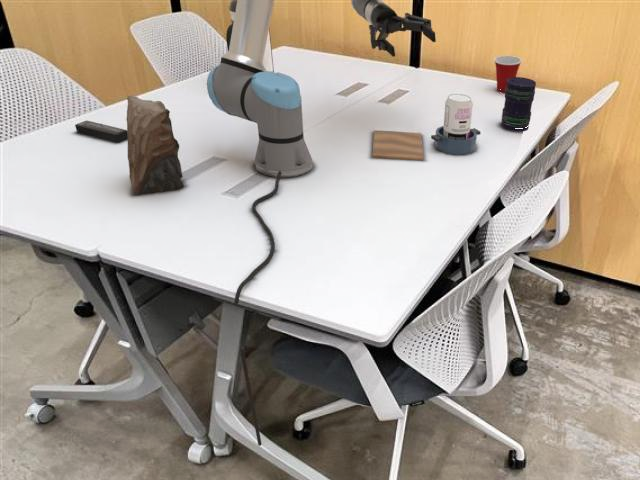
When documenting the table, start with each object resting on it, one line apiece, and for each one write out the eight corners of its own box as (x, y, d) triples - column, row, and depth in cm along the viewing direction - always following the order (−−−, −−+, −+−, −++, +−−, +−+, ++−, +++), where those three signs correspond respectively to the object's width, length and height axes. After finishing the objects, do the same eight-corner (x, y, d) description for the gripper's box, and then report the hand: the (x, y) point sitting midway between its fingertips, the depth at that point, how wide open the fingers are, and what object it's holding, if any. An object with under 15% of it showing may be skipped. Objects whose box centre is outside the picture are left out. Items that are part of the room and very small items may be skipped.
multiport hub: (118, 143, 164) (115, 134, 162) (76, 132, 167) (74, 124, 165) (129, 137, 167) (127, 129, 166) (88, 128, 170) (86, 120, 169)
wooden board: (423, 160, 173) (423, 157, 172) (372, 157, 171) (372, 155, 170) (420, 135, 188) (421, 132, 187) (374, 132, 186) (374, 130, 186)
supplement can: (453, 139, 187) (457, 91, 178) (473, 147, 184) (478, 98, 174) (436, 145, 182) (440, 96, 173) (457, 154, 179) (461, 104, 169)
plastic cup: (485, 87, 234) (489, 55, 226) (508, 85, 238) (513, 54, 230) (498, 95, 227) (502, 63, 219) (522, 94, 231) (527, 62, 223)
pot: (488, 150, 183) (489, 135, 180) (444, 158, 175) (445, 143, 172) (465, 135, 191) (466, 122, 188) (422, 143, 183) (423, 129, 180)
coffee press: (232, 77, 217) (218, -16, 198) (276, 77, 221) (267, -14, 202) (233, 92, 204) (219, -6, 185) (280, 91, 209) (271, -4, 190)
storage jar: (531, 124, 204) (538, 80, 195) (526, 133, 197) (534, 88, 188) (503, 119, 206) (509, 75, 196) (497, 128, 199) (504, 82, 189)
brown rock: (138, 173, 151) (117, 93, 138) (191, 172, 154) (174, 94, 141) (131, 195, 141) (107, 112, 129) (187, 193, 145) (169, 112, 132)
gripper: (417, 17, 187) (451, 44, 176) (347, 41, 181) (378, 70, 169) (415, -8, 181) (450, 18, 170) (342, 16, 174) (373, 44, 163)
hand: (414, 44), depth 169 cm, fingers open, 13 cm apart
